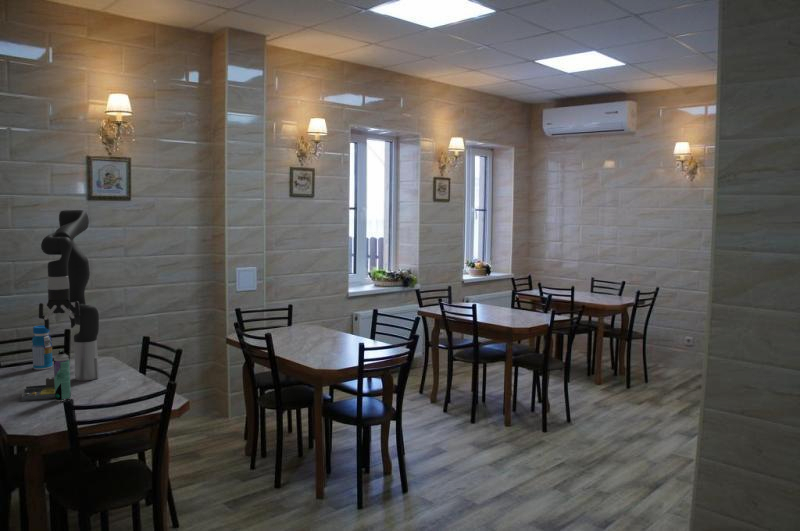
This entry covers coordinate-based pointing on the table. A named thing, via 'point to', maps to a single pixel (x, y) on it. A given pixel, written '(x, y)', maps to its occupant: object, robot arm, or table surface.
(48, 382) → the toggle
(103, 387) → the table surface
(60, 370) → the spray can
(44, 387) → the panel
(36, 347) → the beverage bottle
